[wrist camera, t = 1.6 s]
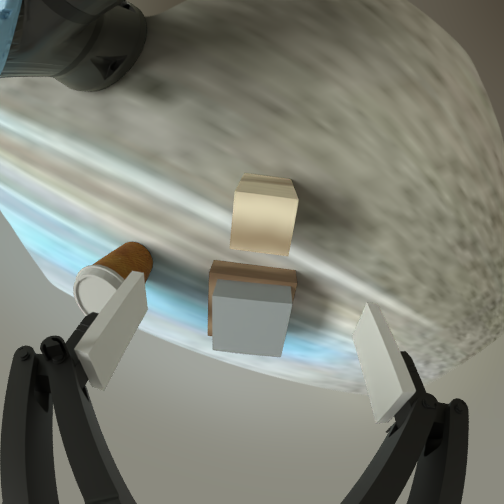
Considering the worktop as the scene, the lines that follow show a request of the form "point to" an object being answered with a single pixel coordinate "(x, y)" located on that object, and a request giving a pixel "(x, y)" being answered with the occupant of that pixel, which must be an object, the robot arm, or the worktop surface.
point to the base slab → (247, 278)
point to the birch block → (263, 214)
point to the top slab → (250, 317)
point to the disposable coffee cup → (109, 276)
